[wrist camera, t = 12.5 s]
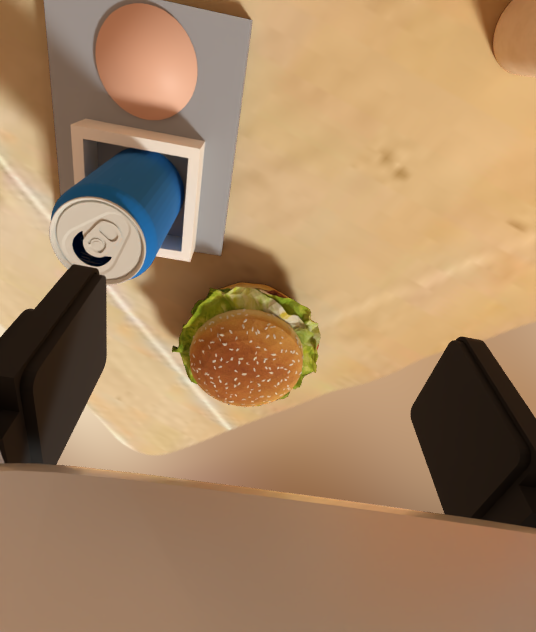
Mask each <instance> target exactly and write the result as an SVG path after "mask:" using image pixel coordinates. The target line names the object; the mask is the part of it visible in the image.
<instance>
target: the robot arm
mask: <svg viewBox="0 0 536 632" xmlns="http://www.w3.org/2000/svg"><path fill="white" fill-rule="evenodd" d="M106 355H107V349H106V277H105V275H99V270H98V269H97V268H93V267H88V266H82V265H77V264H73V265H72V266H71V267H70V268H69V269H68V270H67V271H66V272H65V274H64V275H63V276H62V277H61V278H60V280H59V281H58V282H57V283H56V284H55V285H54V287H53V288H52V289H51V290H50V291H49V293H48V294H47V295H46V296H45V297H44V298H43V300H42V301H41V302H40V303H39V304H38V306H37V307H36V308H35V309H27V310H25V311H24V312H22V313H21V314H20V316H19V317H18V318H17V319H16V320H15V321H14V322H13V323H12V325H11V326H10V327H9V328H8V329H7V330H6V331H5V333H4V334H3V335H2V336H1V337H0V632H536V418H535V417H534V415H533V414H532V412H531V411H530V409H529V408H528V406H527V405H526V404H525V402H524V400H523V399H522V398H521V396H520V395H519V393H518V392H517V390H516V389H515V387H514V386H513V384H512V383H511V381H510V380H509V378H508V377H507V375H506V374H505V372H504V371H503V369H502V368H501V366H500V365H499V363H498V362H497V360H496V359H495V358H494V356H493V355H492V353H491V352H490V350H489V349H488V347H487V346H486V344H485V343H484V342H483V341H481V340H477V339H472V338H467V337H459V338H457V339H456V340H454V341H451V342H450V343H449V344H448V346H447V348H446V349H445V351H444V353H443V355H442V356H441V358H440V360H439V361H438V363H437V365H436V366H435V368H434V370H433V372H432V374H431V375H430V377H429V378H428V380H427V382H426V384H425V385H424V387H423V389H422V390H421V392H420V394H419V395H418V397H417V399H416V401H415V402H414V404H413V406H412V408H411V420H412V423H413V426H414V428H415V432H416V434H417V437H418V440H419V443H420V445H421V448H422V451H423V454H424V457H425V460H426V463H427V465H428V468H429V471H430V474H431V476H432V479H433V482H434V485H435V488H436V491H437V493H438V496H439V499H440V502H441V505H442V508H443V510H444V513H445V514H438V513H431V512H424V511H417V510H410V509H403V508H395V507H389V506H382V505H374V504H367V503H359V502H352V501H345V500H337V499H330V498H322V497H315V496H308V495H300V494H293V493H285V492H278V491H270V490H263V489H256V488H248V487H240V486H232V485H224V484H217V483H209V482H201V481H194V480H186V479H178V478H170V477H162V476H155V475H147V474H138V473H130V472H120V471H112V470H103V469H94V468H86V467H76V466H64V465H56V464H57V462H58V460H59V458H60V456H61V454H62V452H63V450H64V448H65V446H66V444H67V442H68V440H69V437H70V436H71V433H72V432H73V430H74V427H75V426H76V424H77V422H78V420H79V418H80V415H81V413H82V412H83V410H84V408H85V406H86V404H87V402H88V399H89V397H90V395H91V393H92V391H93V389H94V387H95V385H96V383H97V381H98V379H99V377H100V375H101V373H102V371H103V369H104V366H105V363H106Z"/></svg>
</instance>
